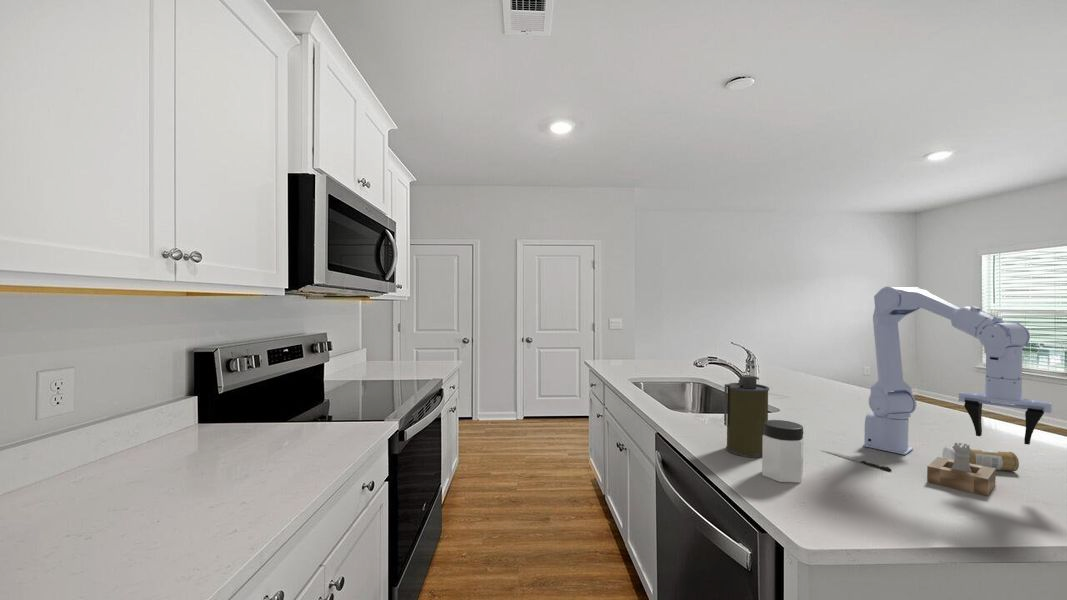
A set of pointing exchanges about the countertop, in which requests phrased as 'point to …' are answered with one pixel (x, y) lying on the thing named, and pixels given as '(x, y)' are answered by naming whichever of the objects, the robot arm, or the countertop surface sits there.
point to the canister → (745, 416)
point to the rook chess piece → (961, 457)
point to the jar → (782, 451)
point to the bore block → (962, 476)
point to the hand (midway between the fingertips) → (1002, 439)
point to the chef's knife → (859, 460)
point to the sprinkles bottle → (988, 458)
